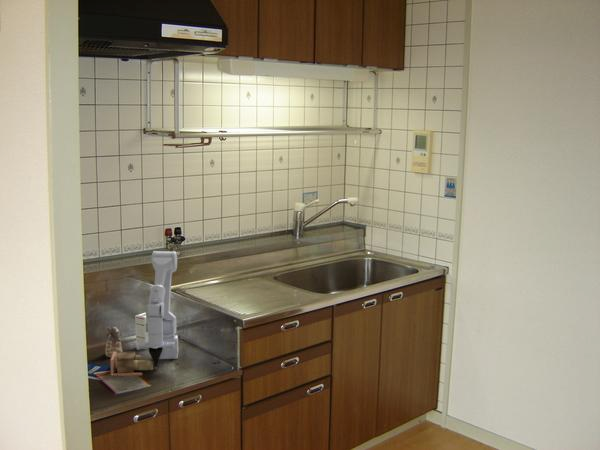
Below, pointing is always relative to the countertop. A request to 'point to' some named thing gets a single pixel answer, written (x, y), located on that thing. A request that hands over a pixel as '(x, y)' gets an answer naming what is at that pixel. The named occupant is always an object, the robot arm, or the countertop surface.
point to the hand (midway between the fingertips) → (156, 365)
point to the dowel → (143, 365)
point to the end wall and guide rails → (114, 364)
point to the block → (126, 362)
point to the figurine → (113, 342)
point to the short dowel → (138, 357)
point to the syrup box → (141, 328)
